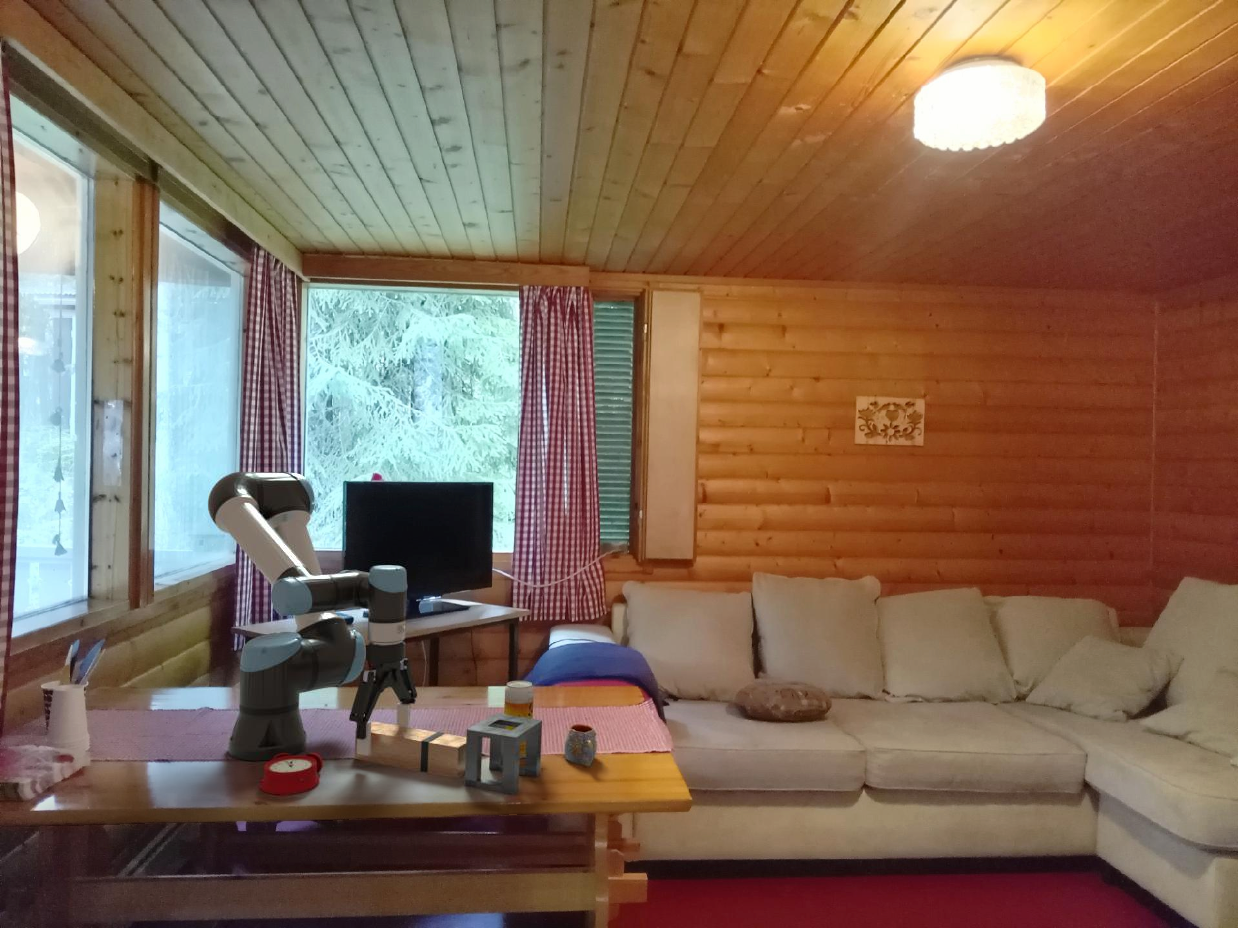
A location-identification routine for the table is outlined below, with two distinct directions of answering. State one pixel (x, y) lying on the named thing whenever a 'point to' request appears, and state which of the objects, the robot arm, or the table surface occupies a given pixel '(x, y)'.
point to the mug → (580, 744)
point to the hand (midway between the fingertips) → (383, 744)
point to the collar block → (503, 751)
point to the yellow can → (519, 704)
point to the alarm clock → (291, 773)
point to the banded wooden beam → (416, 749)
